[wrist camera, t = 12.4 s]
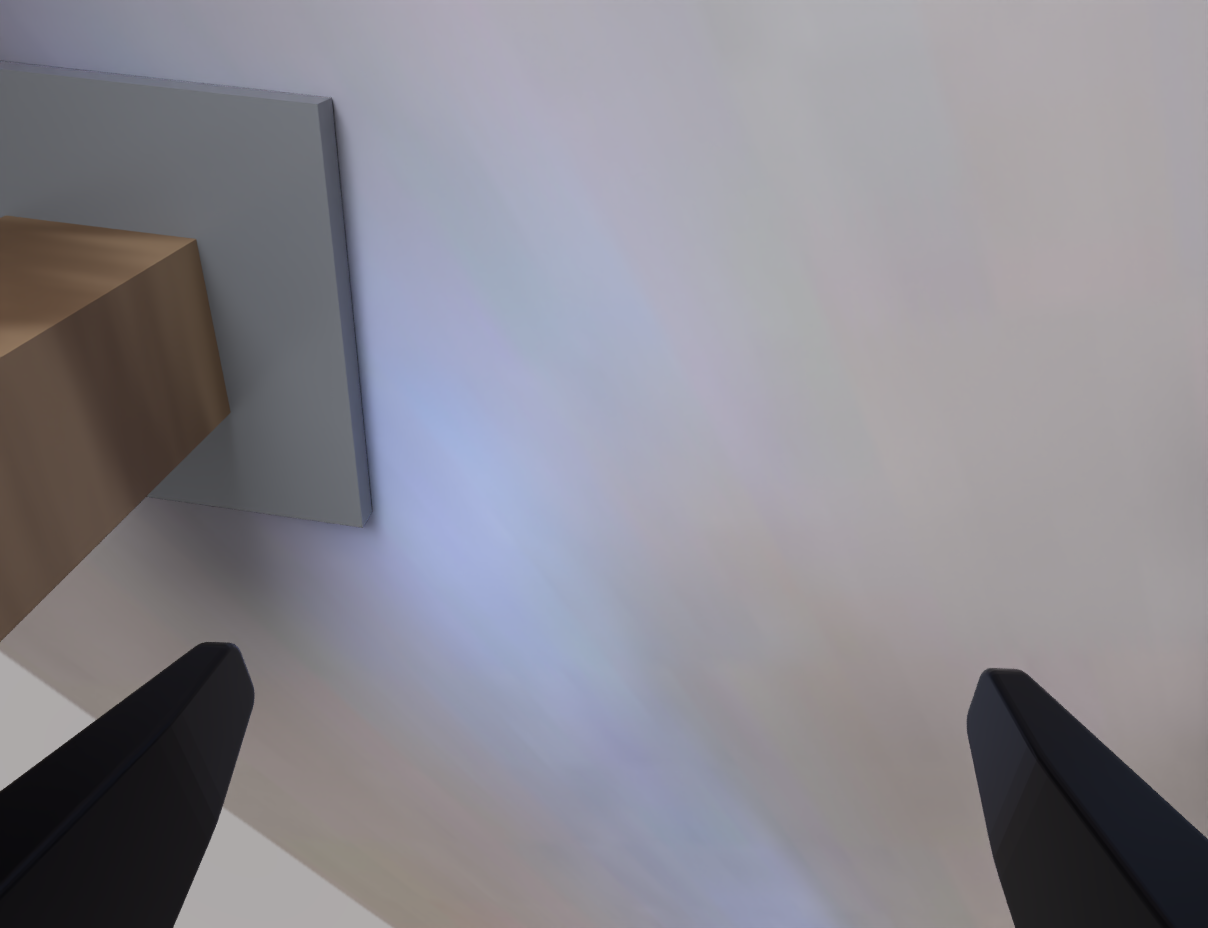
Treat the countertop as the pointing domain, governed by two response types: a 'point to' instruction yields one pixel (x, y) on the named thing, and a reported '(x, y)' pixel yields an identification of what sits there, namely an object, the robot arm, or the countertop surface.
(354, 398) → the plate
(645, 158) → the countertop surface
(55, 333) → the walnut block
